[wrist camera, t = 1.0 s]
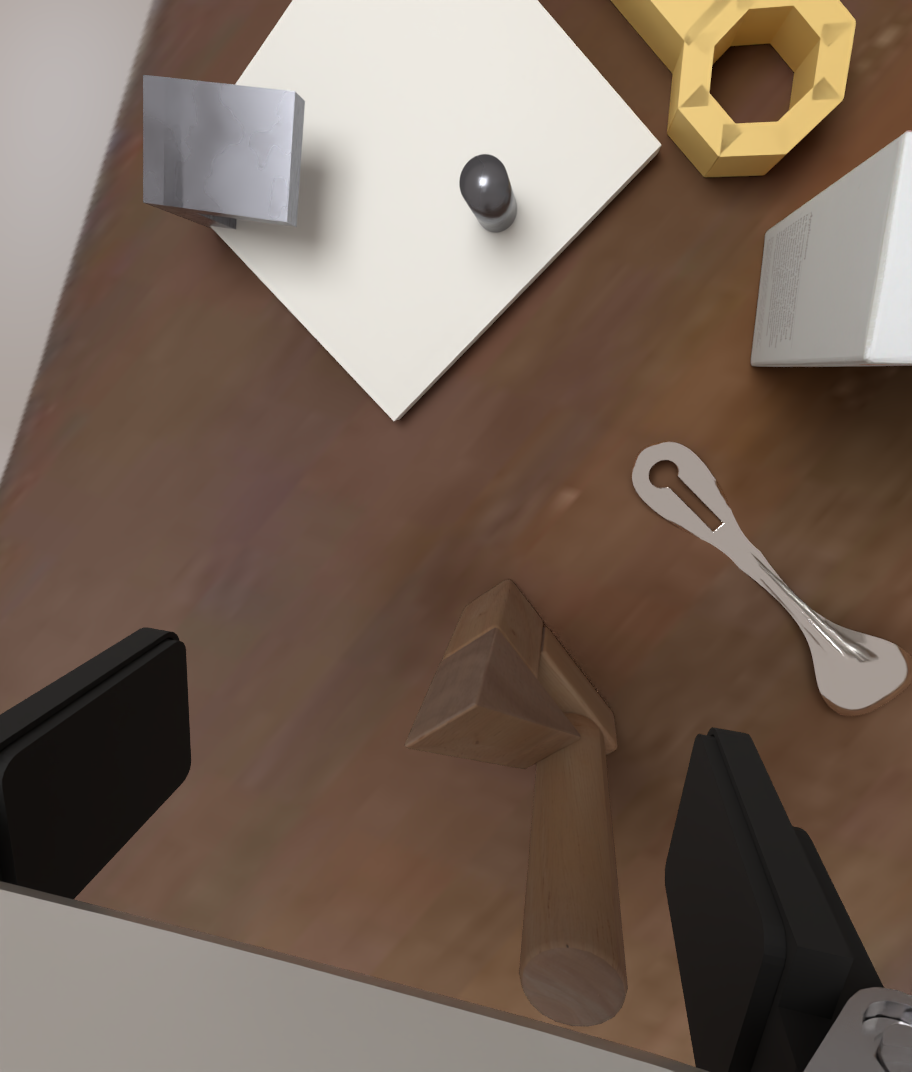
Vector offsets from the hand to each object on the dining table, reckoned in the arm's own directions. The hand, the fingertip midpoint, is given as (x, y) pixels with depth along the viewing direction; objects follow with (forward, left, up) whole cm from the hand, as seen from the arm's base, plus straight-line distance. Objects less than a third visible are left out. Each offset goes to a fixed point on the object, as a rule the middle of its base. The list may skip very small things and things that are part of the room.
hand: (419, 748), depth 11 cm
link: (-19, -11, -25) cm, 33 cm away
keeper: (-1, -21, -25) cm, 32 cm away
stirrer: (-6, +12, -25) cm, 29 cm away
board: (-6, -16, -25) cm, 30 cm away
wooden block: (+7, +9, -25) cm, 27 cm away
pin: (-8, -11, -25) cm, 28 cm away
